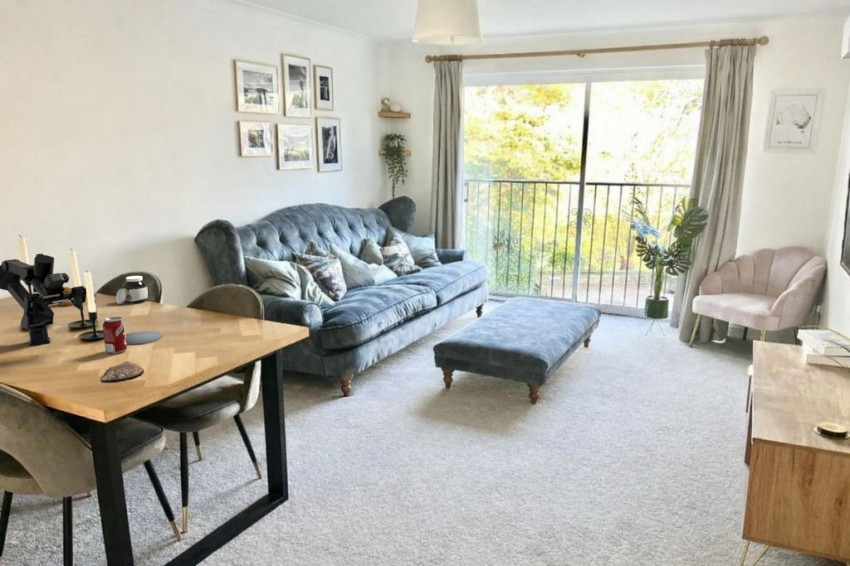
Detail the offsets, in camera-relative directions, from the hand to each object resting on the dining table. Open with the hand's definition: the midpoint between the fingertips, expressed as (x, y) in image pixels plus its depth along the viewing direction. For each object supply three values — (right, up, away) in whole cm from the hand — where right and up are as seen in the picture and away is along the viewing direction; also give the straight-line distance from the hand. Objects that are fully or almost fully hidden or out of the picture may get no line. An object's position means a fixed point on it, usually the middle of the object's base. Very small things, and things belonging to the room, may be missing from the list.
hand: (68, 312), depth 197 cm
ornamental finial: (-43, 0, +70) cm, 82 cm away
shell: (+25, -20, -12) cm, 34 cm away
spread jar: (-17, +1, +76) cm, 77 cm away
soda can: (+12, -15, +9) cm, 21 cm away
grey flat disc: (+13, -11, +24) cm, 29 cm away
